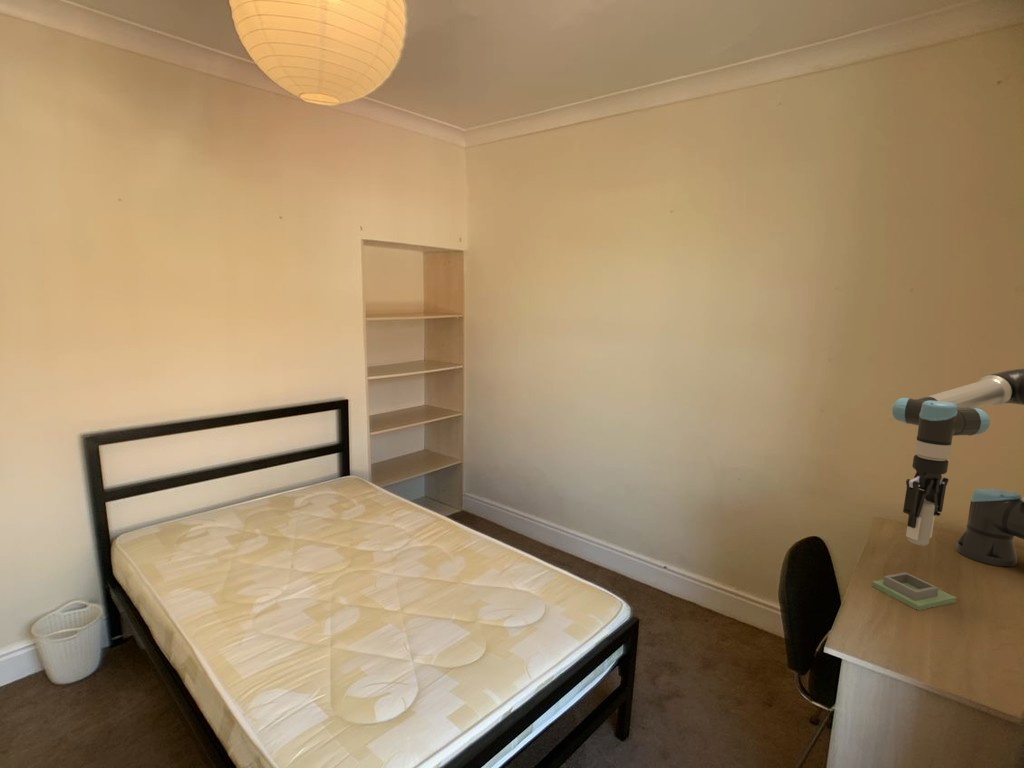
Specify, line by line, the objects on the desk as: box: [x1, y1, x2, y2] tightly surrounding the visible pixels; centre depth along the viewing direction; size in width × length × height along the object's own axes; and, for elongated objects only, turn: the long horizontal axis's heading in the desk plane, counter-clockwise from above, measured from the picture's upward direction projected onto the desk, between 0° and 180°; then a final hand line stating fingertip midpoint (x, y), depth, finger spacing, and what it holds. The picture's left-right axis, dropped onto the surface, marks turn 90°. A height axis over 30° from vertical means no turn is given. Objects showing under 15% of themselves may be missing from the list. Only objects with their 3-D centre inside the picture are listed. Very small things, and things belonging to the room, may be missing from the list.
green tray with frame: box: [871, 571, 957, 611], centre depth 148 cm, size 15×13×4 cm
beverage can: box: [907, 500, 935, 547], centre depth 144 cm, size 5×5×12 cm
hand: (918, 536), depth 145 cm, fingers closed on beverage can, 5 cm apart
